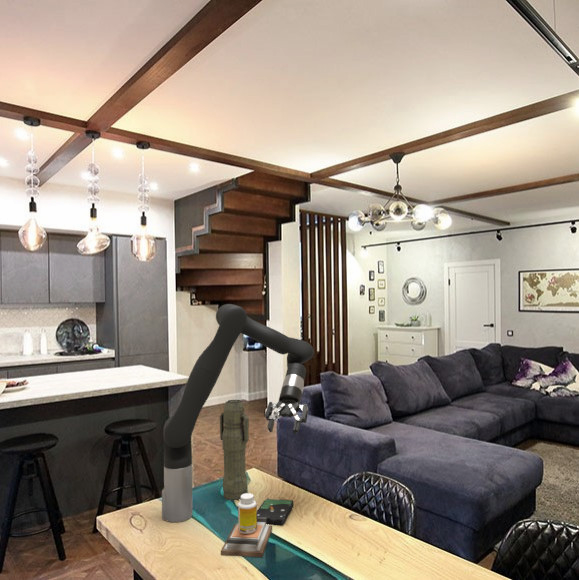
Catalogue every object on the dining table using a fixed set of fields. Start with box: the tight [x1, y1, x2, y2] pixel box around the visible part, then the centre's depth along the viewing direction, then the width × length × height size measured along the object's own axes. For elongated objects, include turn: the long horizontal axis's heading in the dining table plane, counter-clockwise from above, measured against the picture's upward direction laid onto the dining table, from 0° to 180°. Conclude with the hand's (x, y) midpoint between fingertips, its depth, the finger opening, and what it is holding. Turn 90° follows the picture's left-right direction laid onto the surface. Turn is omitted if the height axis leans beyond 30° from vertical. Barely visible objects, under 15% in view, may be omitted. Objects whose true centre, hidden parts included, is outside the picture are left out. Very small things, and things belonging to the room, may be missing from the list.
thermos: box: [219, 399, 250, 502], centre depth 172 cm, size 9×12×35 cm
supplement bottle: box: [237, 492, 258, 534], centre depth 139 cm, size 6×6×10 cm
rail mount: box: [220, 517, 273, 558], centre depth 138 cm, size 12×16×4 cm
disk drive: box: [257, 497, 294, 527], centre depth 156 cm, size 10×3×15 cm
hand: (282, 431), depth 153 cm, fingers open, 8 cm apart
